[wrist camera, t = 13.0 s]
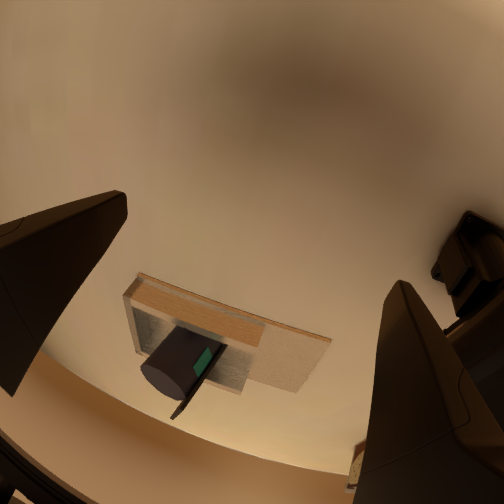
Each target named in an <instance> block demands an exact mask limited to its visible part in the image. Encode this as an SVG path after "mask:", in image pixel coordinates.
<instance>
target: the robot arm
mask: <svg viewBox="0 0 504 504" xmlns="http://www.w3.org/2000/svg"><path fill="white" fill-rule="evenodd" d="M127 215H128V210H127V197H126V194H125V193H124V192H121V191H117V190H113V191H109V192H105V193H102V194H98V195H94V196H91V197H87V198H83V199H80V200H76V201H73V202H70V203H66V204H63V205H60V206H56V207H53V208H50V209H47V210H44V211H40V212H37V213H34V214H31V215H28V216H26V217H22V218H19V219H17V220H14V221H11V222H8V223H5V224H2V225H0V387H1V388H2V389H4V390H5V391H6V392H7V393H8V394H9V395H10V396H11V397H13V395H14V394H15V392H16V390H17V388H18V386H19V385H20V383H21V381H22V379H23V377H24V375H25V373H26V372H27V370H28V368H29V366H30V364H31V363H32V361H33V359H34V358H35V356H36V354H37V353H38V351H39V349H40V347H41V346H42V344H43V342H44V341H45V339H46V337H47V336H48V334H49V333H50V331H51V329H52V328H53V326H54V325H55V323H56V322H57V320H58V319H59V317H60V315H61V314H62V312H63V311H64V309H65V308H66V306H67V305H68V303H69V302H70V301H71V299H72V298H73V296H74V295H75V293H76V292H77V290H78V289H79V288H80V286H81V285H82V283H83V282H84V281H85V279H86V278H87V276H88V275H89V274H90V272H91V271H92V270H93V268H94V267H95V266H96V264H97V263H98V262H99V260H100V259H101V258H102V256H103V255H104V253H105V252H106V250H107V249H108V247H109V246H110V244H111V243H112V241H113V239H114V238H115V236H116V235H117V233H118V232H119V230H120V229H121V227H122V226H123V224H124V223H125V221H126V219H127ZM469 217H471V219H470V220H467V219H468V218H469ZM437 272H438V274H435V273H437ZM431 276H432V278H433V279H435V280H437V281H440V282H443V283H445V285H446V289H447V293H448V295H451V298H452V302H453V306H454V310H455V314H456V316H457V317H459V318H460V319H458V320H457V321H456V322H455V323H453V324H452V325H451V326H450V327H448V328H447V329H444V330H443V331H442V329H441V328H440V326H439V325H438V323H437V322H436V320H435V319H434V317H433V316H432V314H431V313H430V311H429V310H428V308H427V307H426V305H425V304H424V302H423V301H422V299H421V298H420V296H419V295H418V294H417V292H416V291H415V289H414V288H413V286H412V285H411V284H410V283H408V282H405V281H403V280H397V281H396V283H395V284H394V286H393V287H392V289H391V290H390V292H389V294H388V295H387V297H386V299H385V301H384V304H383V311H382V318H381V324H380V331H379V337H378V343H377V351H376V363H375V375H374V385H373V394H372V403H371V410H370V418H369V425H368V431H367V437H366V443H365V449H364V454H363V460H362V465H361V470H360V475H359V478H358V483H357V487H356V491H355V496H354V500H353V504H504V229H503V228H502V227H500V226H498V225H496V224H494V223H492V222H490V221H489V220H487V219H485V218H483V217H481V216H479V215H477V214H475V213H473V212H470V211H468V212H466V213H465V214H464V215H463V217H462V219H461V221H460V223H459V225H458V227H457V228H456V230H455V232H454V233H453V234H452V235H451V236H450V238H449V240H448V242H447V243H446V245H445V247H444V249H443V250H442V252H441V254H440V255H439V257H438V261H437V262H436V264H435V266H434V267H433V269H432V271H431ZM15 489H17V490H19V491H20V492H21V493H22V494H23V495H24V496H26V498H27V499H28V500H30V501H32V502H33V503H34V504H98V503H97V502H95V501H93V500H91V499H90V498H88V497H87V496H85V495H84V494H82V493H80V492H79V491H77V490H76V489H74V488H73V487H71V486H70V485H68V484H67V483H65V482H64V481H62V480H61V479H60V478H58V477H57V476H56V475H54V474H53V473H52V472H50V471H49V470H47V469H46V468H45V467H44V466H42V465H41V464H40V463H39V462H37V461H36V460H35V459H34V458H32V457H31V456H30V455H29V454H28V453H26V452H25V451H24V450H23V449H22V448H21V447H20V446H18V445H17V444H16V443H15V442H14V441H13V440H12V439H11V438H10V437H9V436H7V435H6V434H5V433H4V432H3V431H2V430H1V429H0V504H25V503H24V502H22V501H21V500H19V499H18V498H16V497H14V496H12V495H13V493H14V491H15Z"/></svg>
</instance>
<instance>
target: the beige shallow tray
mask: <svg viewBox="0 0 504 504" xmlns="http://www.w3.org/2000/svg"><path fill="white" fill-rule="evenodd" d="M123 300H124V305H125V309H126V314H127V318H128V323H129V327H130V331H131V335H132V339H133V343H134V347H135V351H136V353H138V354H140V355H142V356H144V357H146V358H148V357H149V356H150V355H151V354H152V353H153V351H154V350H155V349H156V348H157V347H158V346H159V345H160V343H161V342H162V341H163V340H164V339H165V338H166V337H167V335H168V334H169V333H170V332H171V331H172V330H173V329H174V327H175V326H176V325H178V326H180V327H183V328H185V329H188V330H190V331H193V332H195V333H198V334H200V335H203V336H206V337H208V338H211V339H214V340H216V341H219V342H221V344H222V346H223V345H224V344H227V345H228V346H227V348H226V349H225V351H224V352H223V354H222V355H221V357H220V358H219V360H218V361H217V363H216V364H215V366H214V367H213V368H212V370H211V371H210V373H209V374H208V376H207V377H206V379H205V380H204V382H205V383H207V384H210V385H213V386H215V387H218V388H221V389H223V390H226V391H229V392H232V393H235V394H238V395H241V392H242V390H243V387H244V384H245V382H246V379H247V378H249V379H252V380H255V381H258V382H261V383H264V384H267V385H270V386H273V387H277V388H280V389H283V390H287V391H290V392H294V393H297V392H298V390H299V389H300V388H301V386H302V385H303V383H304V382H305V381H306V379H307V378H308V376H309V375H310V374H311V372H312V371H313V369H314V368H315V366H316V365H317V363H318V362H319V360H320V359H321V357H322V356H323V354H324V353H325V351H326V350H327V348H328V347H329V345H330V344H331V339H328V338H325V337H321V336H318V335H315V334H312V333H308V332H305V331H302V330H299V329H295V328H292V327H289V326H286V325H283V324H280V323H277V322H274V321H271V320H268V319H265V318H262V317H259V316H256V315H253V314H250V313H247V312H244V311H241V310H238V309H235V308H232V307H229V306H227V305H224V304H221V303H218V302H215V301H213V300H210V299H207V298H204V297H202V296H199V295H196V294H193V293H191V292H188V291H185V290H183V289H180V288H177V287H175V286H172V285H170V284H167V283H164V282H162V281H159V280H157V279H154V278H152V277H149V276H147V275H144V274H142V273H138V274H137V278H136V279H135V280H134V281H133V283H132V284H131V285H130V286H129V288H128V289H127V290H126V291H125V293H124V294H123Z"/></svg>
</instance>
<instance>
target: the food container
mask: <svg viewBox="0 0 504 504" xmlns="http://www.w3.org/2000/svg"><path fill="white" fill-rule="evenodd" d="M365 443H366V439H364V440H363V441H361V442H359V443H358V444H356V445H355V449H354V454H353V459H352V463H351V467H350V472H349V476H348V480H347V483H345V492H346V493H355V491H356V487H357V483H358V478H359V475H360V470H361V465H362V460H363V454H364V449H365Z"/></svg>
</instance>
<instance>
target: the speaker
mask: <svg viewBox="0 0 504 504" xmlns="http://www.w3.org/2000/svg"><path fill="white" fill-rule="evenodd" d="M227 346H228V345H227V344H224V345H223V346H222V344H221V342H219V341H216V340H214V339H211V338H208V337H206V336H203V335H200V334H198V333H195V332H193V331H190V330H188V329H185V328H183V327H180V326H178V325H176V326H175V327H174V329H173V330H172V331H171V332H170V333H169V334H168V335H167V337H166V338H165V339H164V340H163V341H162V342H161V343H160V345H159V346H158V347H157V348H156V349H155V350H154V351H153V353H152V354H151V355H150V356H149V357H148V358H147V359H146V361H145V362H144V363H143V364H142V365H141V366H140V367H141V371H142V373H143V375H144V376H145V378H146V379H147V381H148V382H150V383H151V384H152V385H153V386H154V387H155V388H156V389H157V390H158V391H160V392H161V393H162V394H164V395H166V396H168V397H170V398H172V399H175V400H177V401H179V400H183V401H182V402H181V403H180V405H179V406H178V407H177V409H176V410H175V412H174V413H173V414H172V416H171V417H170V419H172V420H173V419H175V418H176V417H177V416H178V415H179V414H180V413H181V412H182V411H183V410H184V409H185V407H186V406H187V404H188V403H189V402H190V400H191V399H192V397H193V396H194V394H195V393H196V392H197V390H198V389H199V387H200V386H201V384H202V383H203V382H204V380H205V379H206V377H207V376H208V374H209V373H210V371H211V370H212V368H213V367H214V366H215V364H216V363H217V361H218V360H219V358H220V357H221V355H222V354H223V352H224V351H225V349H226V348H227Z"/></svg>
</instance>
